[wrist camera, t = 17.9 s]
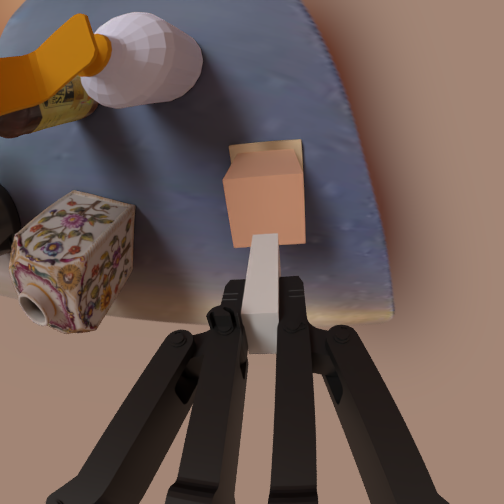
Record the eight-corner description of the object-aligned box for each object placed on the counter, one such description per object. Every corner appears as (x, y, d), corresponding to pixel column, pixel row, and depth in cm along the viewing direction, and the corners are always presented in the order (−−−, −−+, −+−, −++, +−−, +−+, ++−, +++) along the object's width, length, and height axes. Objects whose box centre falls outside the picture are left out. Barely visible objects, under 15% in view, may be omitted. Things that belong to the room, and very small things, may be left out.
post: (238, 208, 33) (230, 238, 27) (229, 145, 29) (217, 159, 23) (304, 204, 32) (311, 232, 26) (300, 139, 28) (308, 152, 22)
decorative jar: (76, 251, 39) (15, 325, 24) (72, 187, 33) (-13, 253, 18) (136, 271, 40) (83, 362, 25) (139, 204, 34) (61, 291, 19)
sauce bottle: (111, 91, 26) (-21, 120, 9) (85, 127, 28) (-35, 181, 11) (85, 64, 23) (-42, 79, 6) (61, 99, 26) (-57, 138, 9)
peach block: (244, 203, 32) (233, 247, 24) (237, 153, 29) (222, 179, 21) (296, 200, 32) (305, 243, 23) (293, 148, 28) (302, 173, 20)
